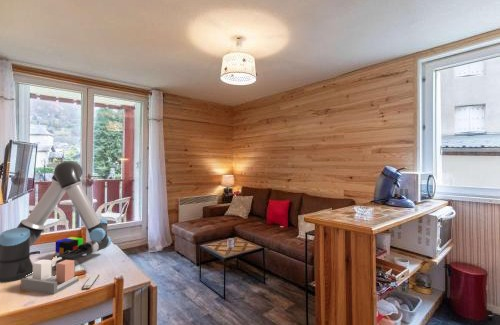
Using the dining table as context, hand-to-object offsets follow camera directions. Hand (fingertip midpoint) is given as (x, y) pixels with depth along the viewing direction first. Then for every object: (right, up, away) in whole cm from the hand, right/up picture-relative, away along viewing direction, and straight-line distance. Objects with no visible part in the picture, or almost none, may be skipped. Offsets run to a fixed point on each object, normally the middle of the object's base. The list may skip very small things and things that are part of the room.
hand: (48, 264), depth 126 cm
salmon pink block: (+11, -6, -3) cm, 13 cm away
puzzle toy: (-13, -8, +33) cm, 36 cm away
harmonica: (+22, -9, -1) cm, 24 cm away
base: (+5, -8, -4) cm, 10 cm away
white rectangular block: (-1, -6, -3) cm, 7 cm away
